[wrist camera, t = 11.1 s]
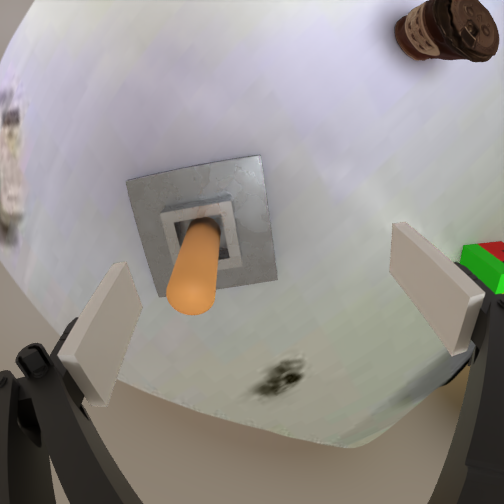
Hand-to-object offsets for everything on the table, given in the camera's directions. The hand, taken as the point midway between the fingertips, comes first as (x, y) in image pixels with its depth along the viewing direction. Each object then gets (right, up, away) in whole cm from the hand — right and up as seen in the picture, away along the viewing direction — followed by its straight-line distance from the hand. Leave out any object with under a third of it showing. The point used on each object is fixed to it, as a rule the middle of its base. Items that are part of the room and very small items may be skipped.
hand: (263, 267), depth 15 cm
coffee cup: (+20, +28, +15) cm, 37 cm away
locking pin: (-6, +3, +23) cm, 24 cm away
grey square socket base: (-6, +3, +24) cm, 25 cm away
